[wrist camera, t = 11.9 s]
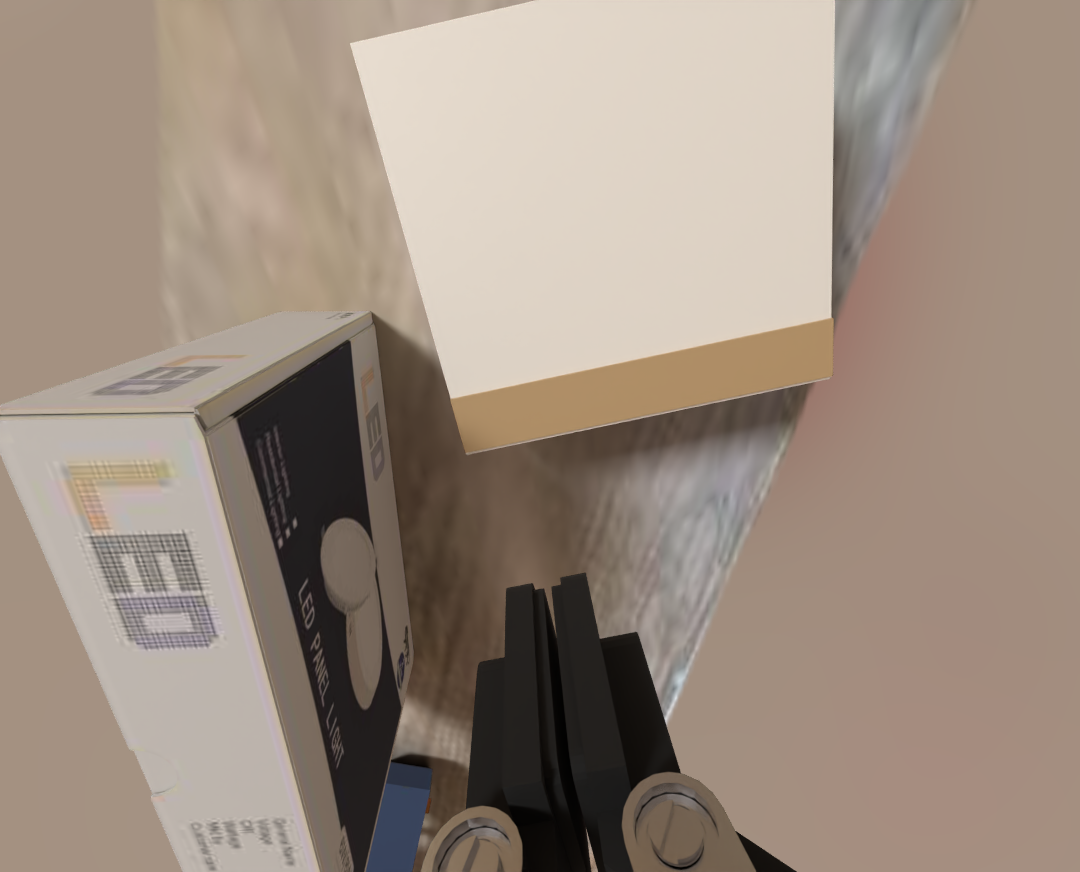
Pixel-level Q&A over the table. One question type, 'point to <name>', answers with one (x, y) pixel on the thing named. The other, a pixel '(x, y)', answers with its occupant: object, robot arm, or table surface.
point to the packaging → (235, 579)
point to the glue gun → (400, 818)
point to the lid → (613, 204)
